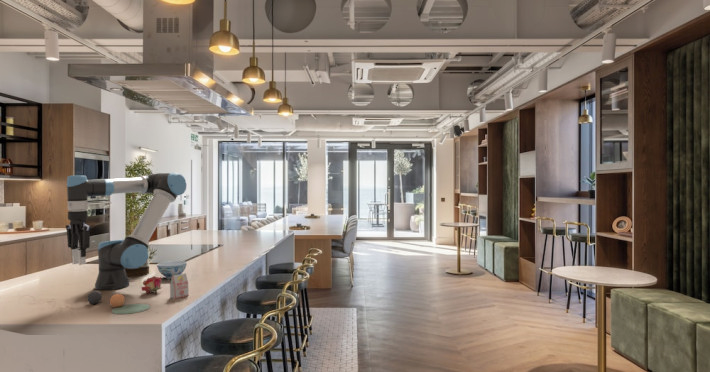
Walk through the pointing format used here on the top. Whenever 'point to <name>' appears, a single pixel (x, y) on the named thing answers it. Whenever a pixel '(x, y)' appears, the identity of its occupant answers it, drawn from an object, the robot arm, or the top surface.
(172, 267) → the chinaware
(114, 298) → the object ball
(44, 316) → the top surface
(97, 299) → the dark grey ball
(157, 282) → the flower
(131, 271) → the wooden container
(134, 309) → the green plate
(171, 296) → the white paper snack bag
